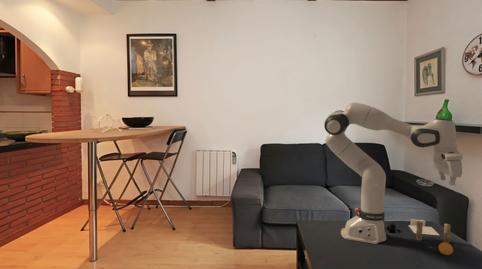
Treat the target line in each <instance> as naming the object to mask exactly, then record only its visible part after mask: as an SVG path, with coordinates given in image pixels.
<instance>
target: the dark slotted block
mask: <svg viewBox="0 0 482 269" xmlns="http://www.w3.org/2000/svg"><path fill="white" fill-rule="evenodd" d="M396 228H397V227H396V224H395V223H394V222H391V221H387V223H386V227H385V226H384V230H385V231H387V232H388V233H389V234H399V232H398V231H397V230H396Z"/></svg>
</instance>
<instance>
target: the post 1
mask: <svg viewBox="0 0 482 269" xmlns="http://www.w3.org/2000/svg"><path fill="white" fill-rule="evenodd" d="M422 226H423V223H422V222H417V228H416V236H415V238H416V240H417V241H423V234H422Z"/></svg>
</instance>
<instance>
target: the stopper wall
mask: <svg viewBox="0 0 482 269" xmlns="http://www.w3.org/2000/svg"><path fill="white" fill-rule="evenodd" d="M417 222H422V223H423V226H426V221H425V220H424V219H413V218H411V219H410V225H414V226H417Z"/></svg>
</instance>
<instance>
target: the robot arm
mask: <svg viewBox="0 0 482 269" xmlns="http://www.w3.org/2000/svg"><path fill="white" fill-rule="evenodd" d="M350 125H357V126H359V127H362V128H364V129H367V130H372V131H375V132H376V131H391V132H393V133H396V134H399V135H401V136H405V137H406V138H407V139H409V140H410V141H411V143H412V144H413V145H414V146H416V148H417V147H418V148H428V147H433V167H434V170H437V171H438V174H439V179H440V180H441V181H446V176H445V174H446V175H447V176H449V181H448V182H449V185H450V186H456V181H457V178H461V177H462V176H463V163H462V162H463V161H462V160H463V154H462V153H461V152H460V151H459V150H458V146H457V142H456V139H457V131H456V125H455V122H454V121H453V120H451V119H449V118H443V117H442V118H441V117H439V118H434V119H432V120H431V121H430V122H427V123H426V124H410V123H408V122H404V121H403V120H400V119H399V120H398V119H396V118H394V117H391V116H390V115H388V114H387V113H386V112H384V111H383V110H380V109H378V108H376V107H373V106H371V105H367V104H365V103H364V104H363V103H359V102H351V103H349V104H348V105H347V106H346V108H345V109H344V110H340V109H339V110H335V111H334V112H331V114H329V115H328V117H326V119H325V121H324V124H323V126H324V130H325V132H327V134H328V135H327V136H326V137H325V144H326V146H327V148H328V149H330V151H331V152H332V153H334V155H335V156H336V157H337V158H338V159H340V160H341V161H342V162H343V163H344V164H345V165H347V167H349V168H350V169H351V170H353V171H354V172H355V173H356V174H358V175H359V176H360V177H361V191H360V208H359V207H355V209H354V211H355V213H356V215H355V216H353V217H352V218H350V219H348V220H347V221H346V223H345V227H343V228H341V230H340V234H341V237H342V238H344V239H345V240H349V241H355V242H362V243H367V244H368V243H369V244H373V245H377V244H379V243H382V242H385V241H386V240H387V236H386V235H387V234H386V229H385V228H384V227H385V221H386V220H385V219H386V216H385V215H386V214H385V210H384V209H385V192H386V183H387V181H386V180H387V176H386V172H385V170H384V169H383V167H382V166H381V165H380V164H379V163H378V162H377V161H375V159H373V158H372V157H370V155H368V154H367V153H366V152H365V151H364V150H362V148H360V147H359V146H358V145H357V144H356V143H354V142H353V141H352V140H351V139H350V138H349V137H348V136H347V135H346V133H345V132H346V131H347V128H348V127H349V126H350Z"/></svg>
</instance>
